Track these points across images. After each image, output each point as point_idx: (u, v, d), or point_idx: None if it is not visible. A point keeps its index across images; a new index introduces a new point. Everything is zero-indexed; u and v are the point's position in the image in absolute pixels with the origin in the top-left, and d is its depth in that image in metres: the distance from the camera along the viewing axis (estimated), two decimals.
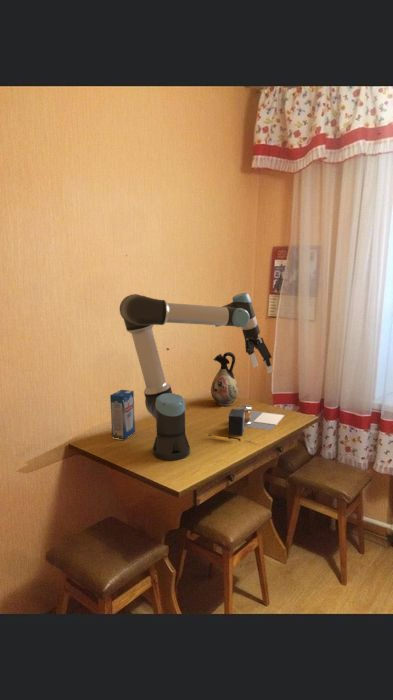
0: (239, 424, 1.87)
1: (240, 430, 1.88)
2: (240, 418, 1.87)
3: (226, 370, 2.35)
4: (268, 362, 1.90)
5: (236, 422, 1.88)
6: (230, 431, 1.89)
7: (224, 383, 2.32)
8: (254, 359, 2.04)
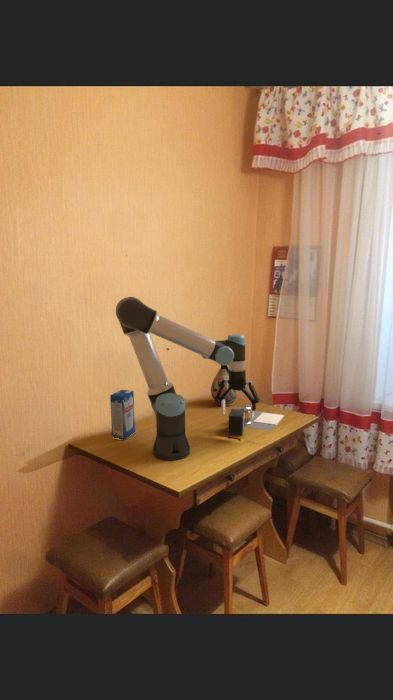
0: (239, 424, 1.87)
1: (240, 430, 1.88)
2: (240, 418, 1.87)
3: (226, 370, 2.35)
4: (255, 406, 1.88)
5: (236, 422, 1.88)
6: (230, 431, 1.89)
7: None
8: (224, 406, 1.95)
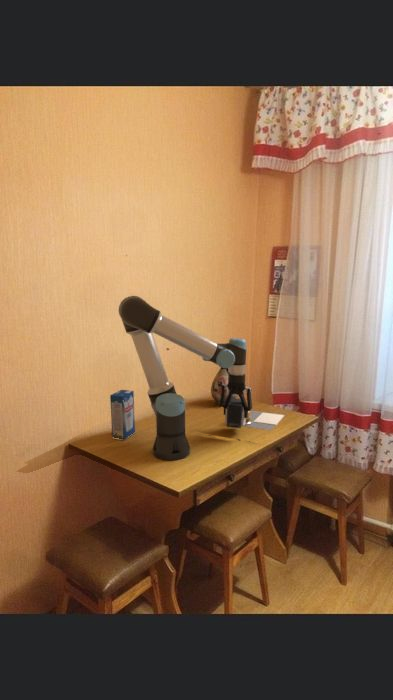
0: (238, 413, 1.86)
1: (239, 419, 1.87)
2: (239, 407, 1.86)
3: (226, 370, 2.35)
4: (247, 413, 1.90)
5: (234, 411, 1.87)
6: (229, 420, 1.88)
7: (224, 382, 2.32)
8: None
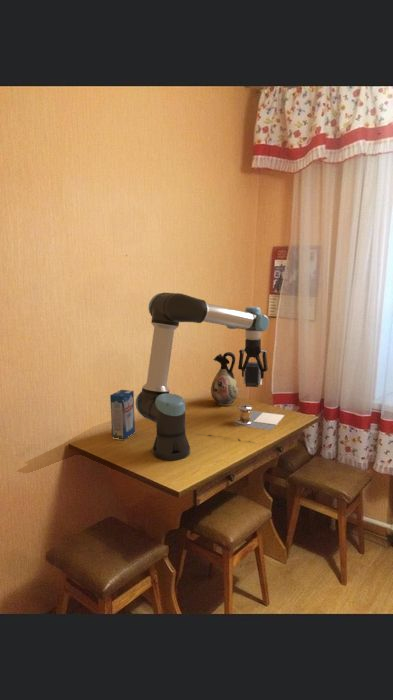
0: (255, 373, 2.08)
1: (256, 379, 2.08)
2: (256, 368, 2.07)
3: (226, 370, 2.35)
4: (263, 374, 2.11)
5: (252, 372, 2.08)
6: (247, 380, 2.09)
7: (224, 383, 2.32)
8: None
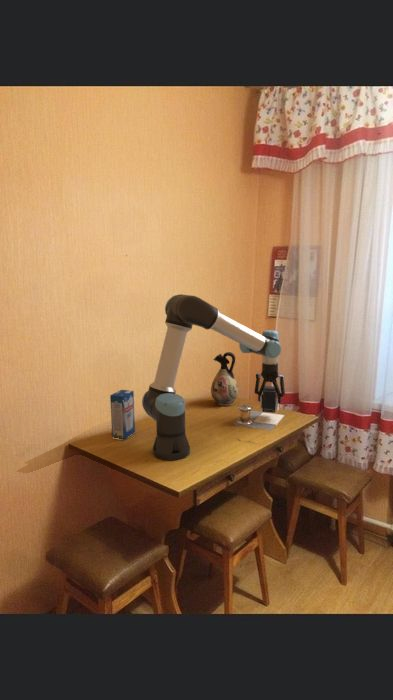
0: (273, 398, 2.03)
1: (273, 404, 2.03)
2: (273, 393, 2.02)
3: (226, 370, 2.35)
4: (280, 399, 2.06)
5: (269, 397, 2.03)
6: (264, 405, 2.04)
7: (224, 382, 2.32)
8: (262, 400, 2.10)
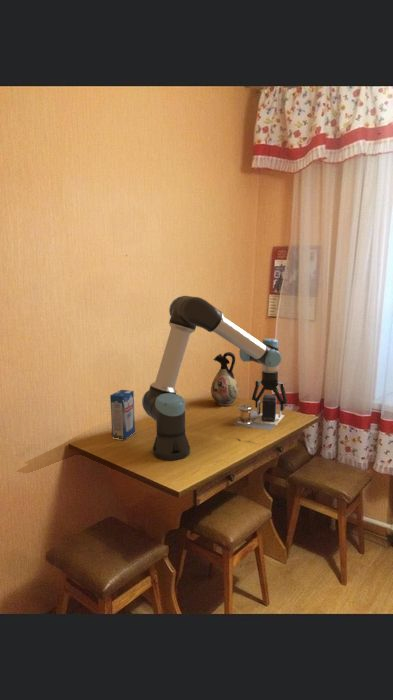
0: (272, 408, 2.03)
1: (273, 413, 2.04)
2: (273, 402, 2.03)
3: (226, 370, 2.35)
4: (283, 406, 2.06)
5: (269, 406, 2.04)
6: (264, 414, 2.05)
7: (224, 383, 2.32)
8: (259, 406, 2.11)
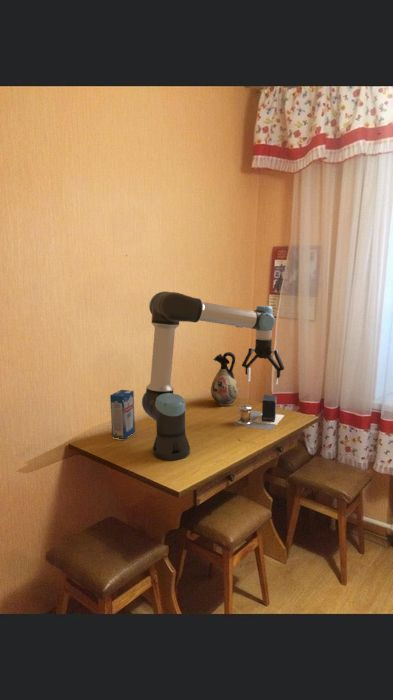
0: (272, 408, 2.03)
1: (273, 413, 2.04)
2: (273, 402, 2.03)
3: (226, 370, 2.35)
4: (279, 373, 2.01)
5: (269, 406, 2.04)
6: (264, 414, 2.05)
7: (224, 383, 2.32)
8: (249, 373, 2.08)
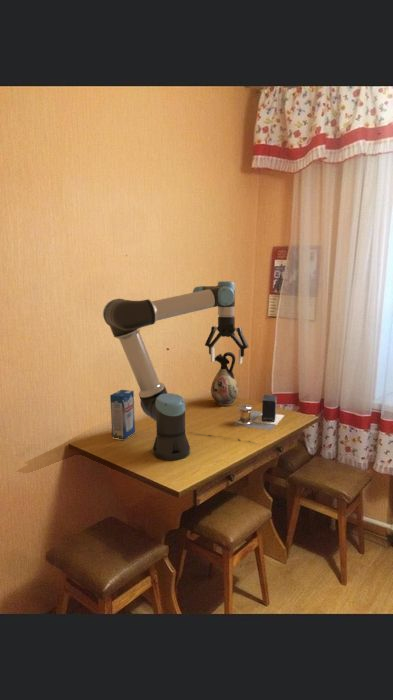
0: (272, 408, 2.03)
1: (273, 413, 2.04)
2: (273, 402, 2.03)
3: (226, 370, 2.35)
4: (243, 352, 1.91)
5: (269, 406, 2.04)
6: (264, 414, 2.05)
7: (224, 383, 2.32)
8: (213, 353, 1.98)
